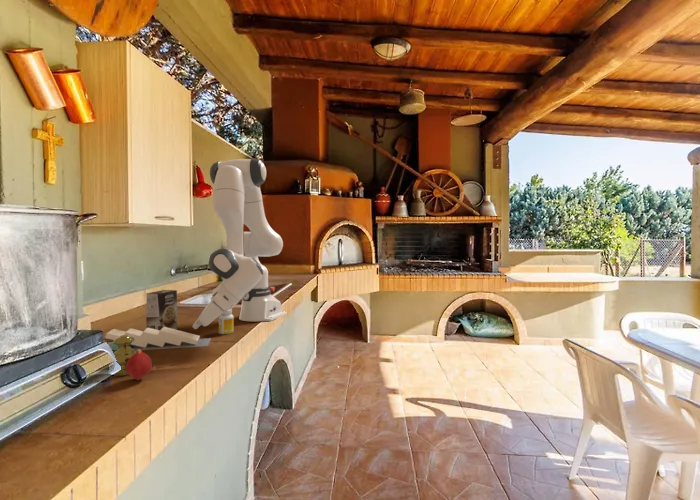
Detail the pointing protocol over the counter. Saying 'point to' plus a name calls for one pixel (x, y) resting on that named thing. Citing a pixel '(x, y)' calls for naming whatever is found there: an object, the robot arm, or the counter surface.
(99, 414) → the counter surface
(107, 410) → the counter surface
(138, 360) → the onion
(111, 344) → the domino
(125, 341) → the olive waisted piece
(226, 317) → the supplement bottle
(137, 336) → the domino
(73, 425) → the counter surface
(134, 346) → the slate board
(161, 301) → the coffee box
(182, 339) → the domino
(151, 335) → the domino
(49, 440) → the counter surface
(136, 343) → the domino
